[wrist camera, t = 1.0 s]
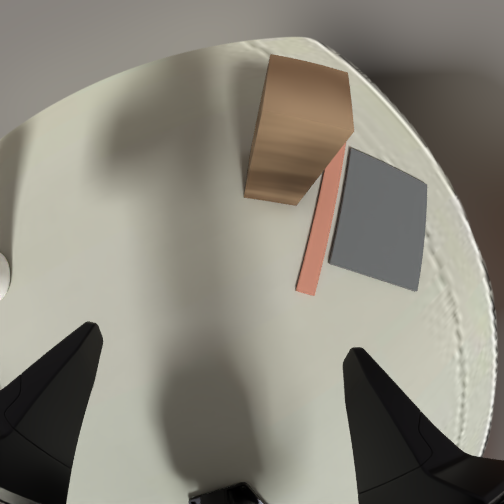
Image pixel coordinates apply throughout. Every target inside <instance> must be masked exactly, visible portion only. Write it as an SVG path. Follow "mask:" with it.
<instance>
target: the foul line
mask: <svg viewBox="0 0 504 504" xmlns="http://www.w3.org/2000/svg"><path fill="white" fill-rule="evenodd" d="M345 146H346V142H345V144H344V145H343V146H342V148H341V149H340V150H339V151H338V153H337V154H336V155H335V157H334V158H333V159H332V160H331V162H330V163H329V164H328V166H327V167H326V168H325V169H324V174H323V179H322V184H321V188H320V193H319V198H318V202H317V206H316V211H315V215H314V220H313V224H312V228H311V232H310V236H309V241H308V245H307V249H306V253H305V257H304V261H303V265H302V268H301V272H300V276H299V280H298V284H297V287H296V291H298V292H302V293H305V294H309V295H313V296H314V295H315V291H316V287H317V284H318V280H319V276H320V272H321V267H322V263H323V259H324V255H325V250H326V246H327V242H328V237H329V233H330V228H331V223H332V218H333V213H334V208H335V203H336V198H337V193H338V187H339V182H340V176H341V170H342V164H343V158H344V152H345Z"/></svg>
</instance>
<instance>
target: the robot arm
mask: <svg viewBox="0 0 504 504" xmlns="http://www.w3.org/2000/svg"><path fill="white" fill-rule="evenodd" d="M102 346H103V337H102V335H101V332H100V329H99V326H98V325H97V323H93V322H85V323H84V324H83V325H81V326H80V327H79V328H77V329H76V330H75V331H73V332H72V333H71V334H70V335H68V336H67V337H66V338H65V339H63V340H62V341H61V342H59V343H58V344H57V345H56V346H54V347H53V348H52V349H51V350H49V351H48V352H47V353H46V354H45V355H43V356H42V357H41V358H40V359H38V360H37V361H36V362H35V363H34V364H32V365H31V366H30V367H29V368H28V369H26V370H25V371H24V372H23V373H22V375H19V376H18V377H17V378H16V379H14V380H13V381H12V382H11V383H9V384H8V385H7V386H6V387H4V388H3V389H2V390H0V504H66V501H67V494H68V488H69V482H70V476H71V471H72V465H73V460H74V455H75V451H76V446H77V442H78V438H79V434H80V430H81V426H82V422H83V418H84V415H85V411H86V407H87V404H88V401H89V397H90V394H91V391H92V388H93V384H94V381H95V377H96V373H97V368H98V363H99V359H100V354H101V350H102ZM343 377H344V392H345V404H346V411H347V417H348V423H349V429H350V435H351V442H352V449H353V456H354V464H355V472H356V480H357V490H358V501H359V504H504V460H496V459H489V458H483V457H477V456H472V455H469V454H467V453H465V452H463V451H462V450H461V449H459V448H458V447H457V446H456V445H455V444H454V443H453V442H452V441H451V440H449V439H448V438H447V437H446V436H445V435H444V434H443V433H442V432H441V431H440V430H439V429H437V428H436V427H435V426H434V425H433V424H432V422H431V421H430V420H429V419H428V418H427V417H426V416H425V415H424V414H423V413H422V412H420V410H419V408H418V407H417V406H416V405H415V404H414V403H413V402H412V401H411V400H410V399H409V397H408V396H407V395H406V394H405V393H404V392H403V391H402V390H401V389H400V388H399V386H398V385H397V384H396V383H395V382H394V381H393V380H392V379H391V378H390V377H389V376H388V374H387V373H386V372H385V371H384V370H383V369H382V368H381V367H380V366H379V365H378V364H377V363H376V362H375V360H374V359H373V358H372V357H371V356H370V355H369V354H368V353H367V352H366V351H365V350H364V349H363V348H361V347H354V348H351V349H350V351H349V353H348V354H347V356H346V358H345V359H344V362H343ZM243 486H244V487H243ZM242 487H243V488H242ZM192 501H194V502H192ZM189 504H265V503H264V502H263V501H262V500H261V499H260V498H259V497H258V496H257V495H256V493H255V492H254V491H253V490H252V489H251V488H250V486H249V485H248V484H247V483H239V484H236V485H233V486H230V487H227V488H224V489H221V490H217V491H214V492H211V493H207V494H204V495H200V496H197V497H193V498H190V499H189Z"/></svg>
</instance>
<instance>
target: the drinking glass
mask: <svg viewBox="0 0 504 504" xmlns="http://www.w3.org/2000/svg"><path fill="white" fill-rule="evenodd" d="M9 284H10V268H9V264H8V261H7V259H6V258H5V256H4V255H3V254H2V253H0V300H1V299H3V298H4V296H5V295H6V293H7V291H8V288H9Z"/></svg>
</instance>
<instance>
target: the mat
mask: <svg viewBox="0 0 504 504" xmlns="http://www.w3.org/2000/svg"><path fill="white" fill-rule="evenodd" d="M426 209H427V184H425V183H423V182H421V181H419V180H418V179H416V178H414V177H412V176H410V175H408V174H406V173H404V172H402V171H400V170H398V169H396V168H394V167H392V166H390V165H388V164H386V163H384V162H382V161H380V160H377V159H375V158H373V157H371V156H369V155H366V154H364V153H362V152H360V151H357V150H355V149H353V148H351V149H350V153H349V159H348V166H347V172H346V178H345V184H344V190H343V196H342V201H341V207H340V212H339V217H338V222H337V227H336V232H335V237H334V241H333V246H332V250H331V255H330V259H329V264H332V265H335V266H338V267H341V268H344V269H347V270H351V271H354V272H357V273H360V274H363V275H366V276H369V277H372V278H375V279H379V280H382V281H385V282H388V283H391V284H394V285H397V286H400V287H403V288H406V289H409V290H412V291H417V290H418V284H419V278H420V271H421V264H422V256H423V247H424V237H425V225H426Z"/></svg>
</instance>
